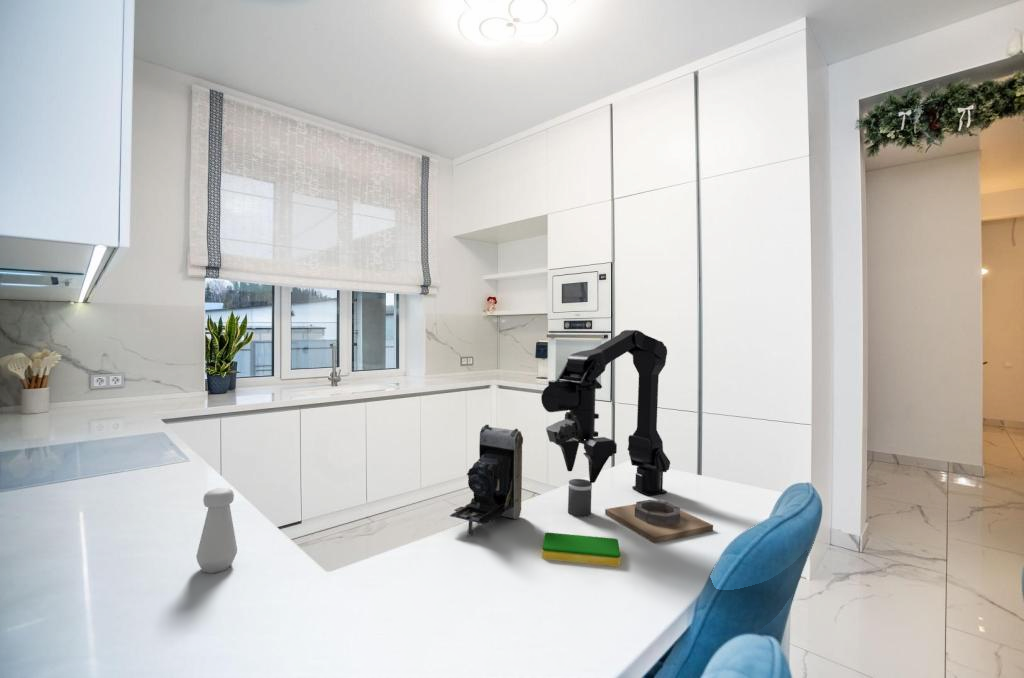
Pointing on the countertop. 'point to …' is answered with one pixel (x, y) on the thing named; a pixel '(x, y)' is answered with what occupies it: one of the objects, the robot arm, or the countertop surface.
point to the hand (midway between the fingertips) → (580, 476)
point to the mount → (658, 520)
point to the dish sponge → (581, 549)
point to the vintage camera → (495, 478)
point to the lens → (579, 498)
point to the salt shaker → (217, 532)
